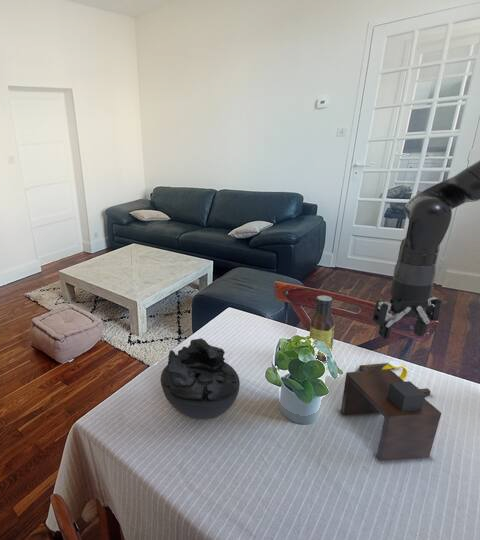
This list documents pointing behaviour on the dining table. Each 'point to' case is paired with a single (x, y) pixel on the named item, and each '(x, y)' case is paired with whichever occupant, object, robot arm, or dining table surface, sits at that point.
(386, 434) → the high shelf
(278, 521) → the dining table surface
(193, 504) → the dining table surface
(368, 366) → the low rack
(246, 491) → the dining table surface
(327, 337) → the sauce bottle
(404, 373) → the watch
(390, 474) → the dining table surface
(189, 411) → the bowl of black rocks
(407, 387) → the charcoal block
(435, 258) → the robot arm
